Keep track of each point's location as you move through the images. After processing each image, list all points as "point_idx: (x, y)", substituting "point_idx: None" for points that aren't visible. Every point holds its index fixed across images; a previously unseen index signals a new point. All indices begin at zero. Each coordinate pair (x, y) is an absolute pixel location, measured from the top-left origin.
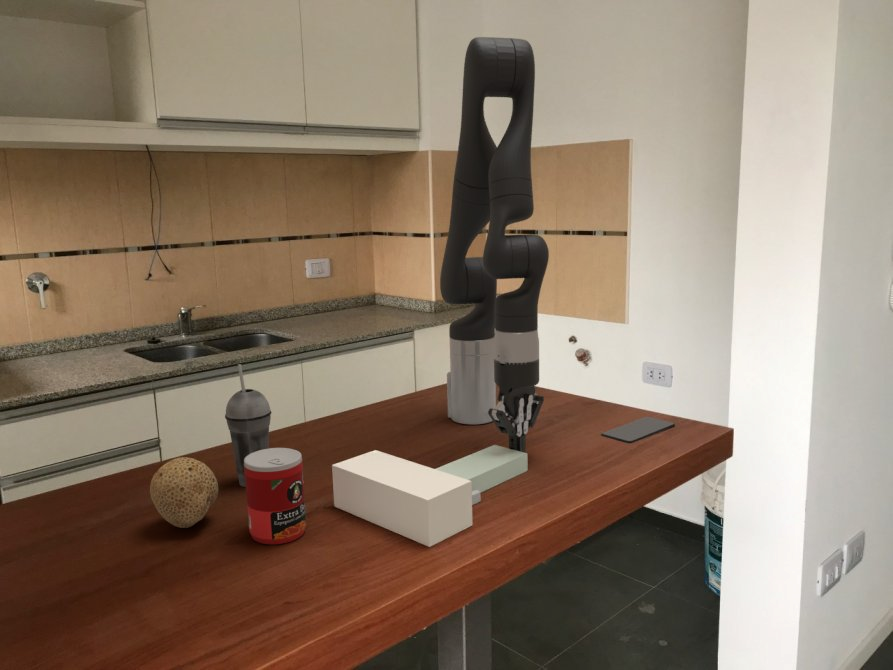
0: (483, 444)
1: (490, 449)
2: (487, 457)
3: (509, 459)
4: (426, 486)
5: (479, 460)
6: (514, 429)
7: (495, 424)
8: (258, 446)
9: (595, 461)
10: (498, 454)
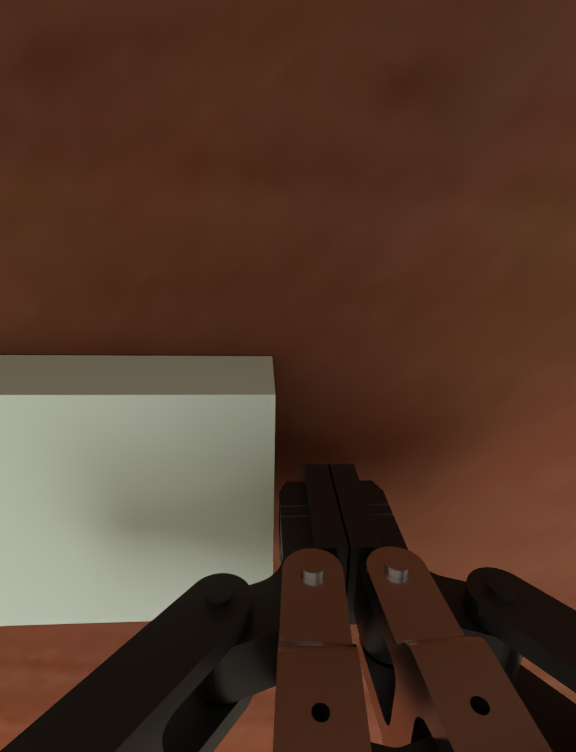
0: (498, 80)
1: (176, 433)
2: (51, 506)
3: (125, 606)
4: None
5: None
6: (237, 709)
7: (94, 674)
8: None
9: (528, 661)
10: (141, 523)
